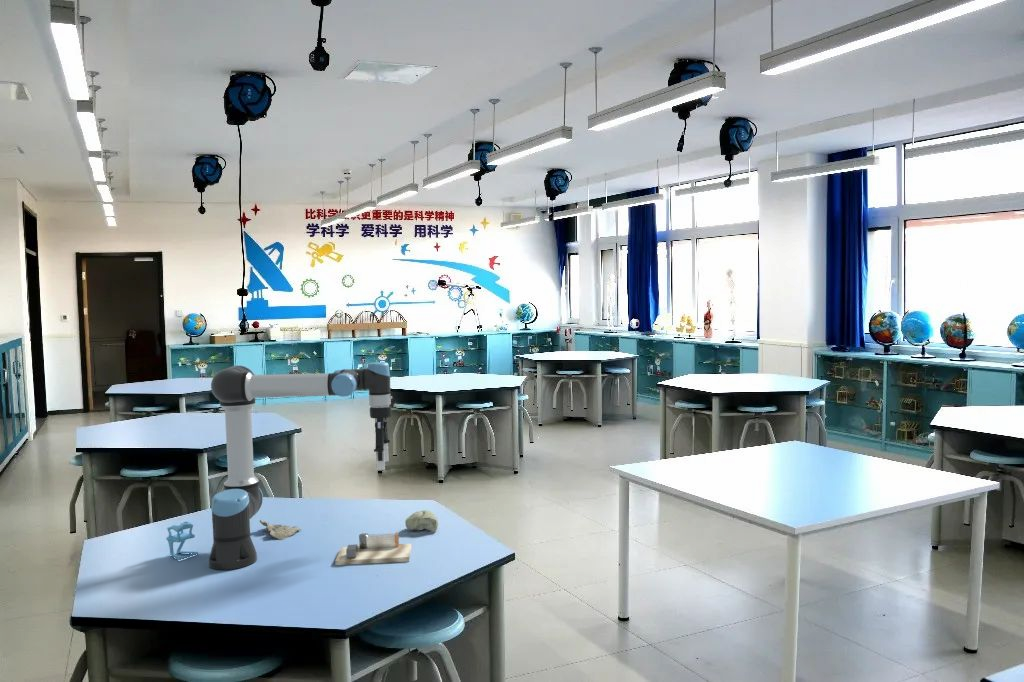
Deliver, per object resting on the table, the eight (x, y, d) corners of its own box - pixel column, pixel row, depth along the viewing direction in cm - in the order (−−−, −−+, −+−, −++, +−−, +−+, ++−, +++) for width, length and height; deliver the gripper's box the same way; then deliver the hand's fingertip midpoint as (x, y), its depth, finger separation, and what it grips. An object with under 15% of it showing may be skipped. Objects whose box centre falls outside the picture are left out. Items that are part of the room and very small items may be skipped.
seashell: (401, 514, 282) (412, 503, 291) (401, 534, 283) (412, 523, 293) (434, 519, 279) (443, 508, 288) (434, 539, 280) (443, 527, 290)
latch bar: (358, 549, 261) (358, 536, 261) (360, 546, 264) (359, 533, 264) (398, 547, 262) (397, 534, 262) (399, 544, 265) (398, 531, 265)
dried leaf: (292, 541, 278) (292, 527, 278) (249, 542, 279) (248, 528, 278) (306, 526, 296) (306, 513, 296) (265, 527, 296) (265, 514, 296)
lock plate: (335, 565, 250) (335, 560, 250) (341, 551, 264) (341, 546, 264) (409, 561, 252) (408, 557, 252) (411, 547, 266) (411, 543, 266)
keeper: (346, 558, 252) (346, 549, 252) (348, 553, 257) (348, 544, 257) (355, 558, 252) (355, 549, 252) (357, 553, 257) (357, 544, 257)
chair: (183, 551, 269) (181, 517, 268) (199, 554, 265) (197, 520, 264) (163, 558, 262) (162, 523, 262) (179, 561, 258) (177, 526, 257)
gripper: (387, 410, 258) (390, 472, 259) (394, 400, 282) (396, 457, 284) (365, 411, 257) (368, 474, 258) (373, 401, 282) (376, 458, 283)
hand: (382, 465), depth 271 cm, fingers open, 13 cm apart
